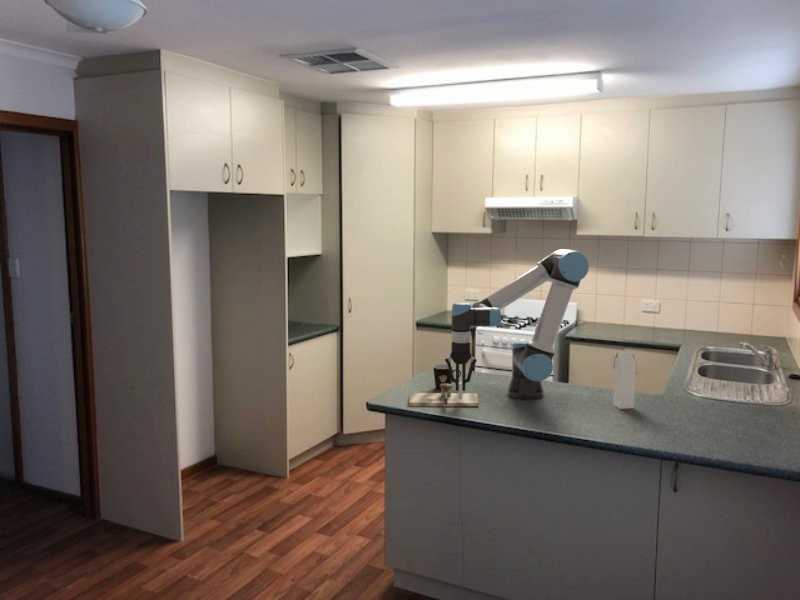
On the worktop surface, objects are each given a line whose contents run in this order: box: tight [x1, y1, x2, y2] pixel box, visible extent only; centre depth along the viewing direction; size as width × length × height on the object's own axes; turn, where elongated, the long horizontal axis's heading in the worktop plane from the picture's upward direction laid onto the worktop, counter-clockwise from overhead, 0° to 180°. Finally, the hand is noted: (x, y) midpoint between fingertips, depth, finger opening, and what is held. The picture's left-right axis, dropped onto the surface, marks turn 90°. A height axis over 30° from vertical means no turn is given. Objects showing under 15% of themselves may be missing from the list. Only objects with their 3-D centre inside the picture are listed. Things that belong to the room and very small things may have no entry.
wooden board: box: [408, 392, 479, 407], centre depth 270 cm, size 28×14×2 cm, turn 86°
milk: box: [612, 352, 637, 410], centre depth 260 cm, size 6×6×22 cm
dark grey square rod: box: [440, 383, 453, 405], centre depth 267 cm, size 5×17×4 cm, turn 176°
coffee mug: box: [432, 363, 462, 391], centre depth 288 cm, size 12×9×10 cm
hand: (460, 398), depth 263 cm, fingers closed
